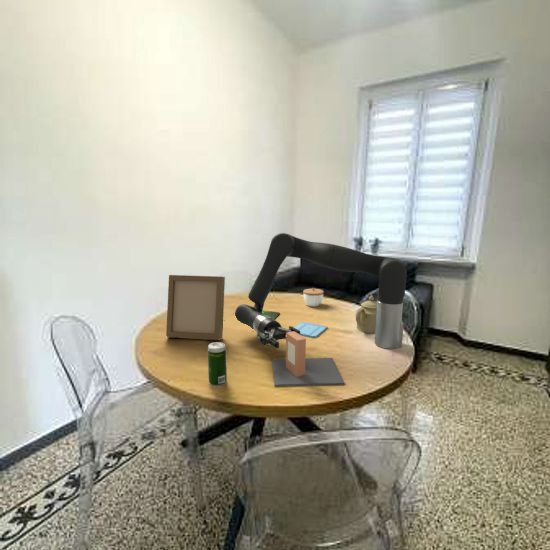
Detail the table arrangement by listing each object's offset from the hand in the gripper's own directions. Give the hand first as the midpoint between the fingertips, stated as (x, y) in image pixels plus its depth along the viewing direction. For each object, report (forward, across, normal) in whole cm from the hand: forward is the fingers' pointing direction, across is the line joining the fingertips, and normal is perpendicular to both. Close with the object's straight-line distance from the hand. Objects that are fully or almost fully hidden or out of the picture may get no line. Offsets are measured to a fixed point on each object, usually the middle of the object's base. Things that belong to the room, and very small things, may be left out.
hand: (289, 343), depth 111 cm
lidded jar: (-56, +48, +9) cm, 74 cm away
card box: (+4, 0, +8) cm, 9 cm away
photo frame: (-44, -17, +9) cm, 48 cm away
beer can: (-2, -24, +9) cm, 26 cm away
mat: (+4, +4, +9) cm, 10 cm away
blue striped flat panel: (-26, +25, +10) cm, 37 cm away
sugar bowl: (-14, +48, +9) cm, 51 cm away
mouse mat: (-50, +9, +10) cm, 52 cm away
